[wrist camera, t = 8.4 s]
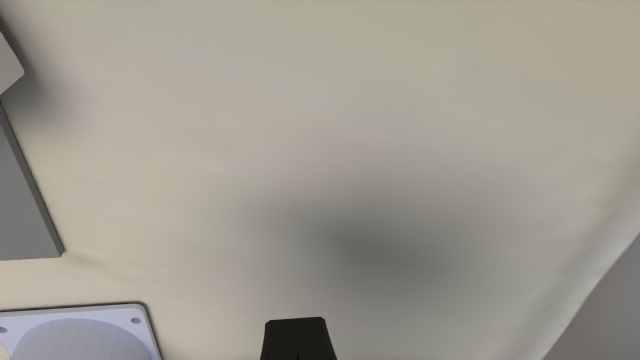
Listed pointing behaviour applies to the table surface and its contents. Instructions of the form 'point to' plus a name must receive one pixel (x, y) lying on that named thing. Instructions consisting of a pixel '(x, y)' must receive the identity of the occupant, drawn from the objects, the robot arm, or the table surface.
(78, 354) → the robot arm
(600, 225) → the table surface
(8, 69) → the skincare box
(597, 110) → the table surface
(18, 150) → the mat
